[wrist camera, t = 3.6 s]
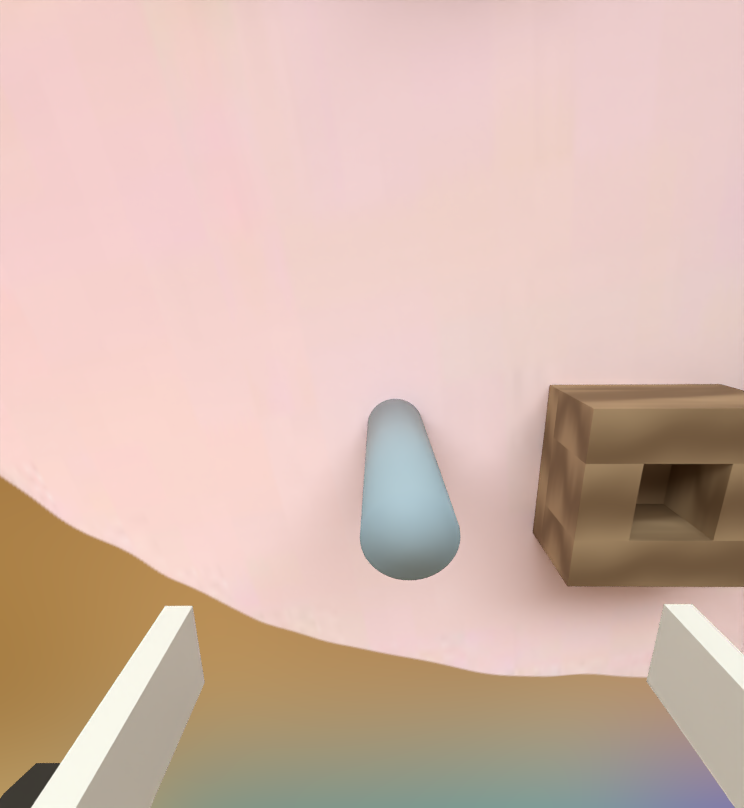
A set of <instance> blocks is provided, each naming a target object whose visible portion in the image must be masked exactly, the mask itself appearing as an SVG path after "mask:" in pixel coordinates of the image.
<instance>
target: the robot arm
mask: <svg viewBox="0 0 744 808" xmlns="http://www.w3.org/2000/svg"><path fill="white" fill-rule="evenodd" d="M647 683H648V684H649V685H650V687H651V688H652V690H653V691H654V693H655V694H656V695H657V697H658V698H659V700H660V701H661V703H662V704H663V705H664V707H665V708H666V710H667V711H668V713H669V714H670V715H671V717H672V718H673V720H674V721H675V723H676V724H677V725H678V727H679V728H680V730H681V731H682V733H683V734H684V735H685V737H686V738H687V740H688V741H689V743H690V744H691V745H692V747H693V748H694V750H695V751H696V753H697V754H698V755H699V757H700V758H701V760H702V761H703V763H704V764H705V765H706V767H707V768H708V770H709V771H710V773H711V774H712V775H713V777H714V778H715V780H716V781H717V782H718V784H719V785H720V787H721V788H722V790H723V791H724V793H725V794H726V795H727V797H728V798H729V800H730V801H731V803H732V804H733V805H734V807H735V808H744V655H743V654H742V653H741V652H740V651H739V650H738V649H737V648H736V647H735V646H734V645H733V644H732V643H731V642H730V641H729V640H728V639H727V638H726V637H725V636H724V635H723V634H722V633H721V632H720V631H719V630H718V629H717V628H716V627H715V626H714V625H713V624H712V623H711V622H710V621H709V620H708V619H707V618H706V617H704V616H703V615H702V614H701V613H700V612H699V611H698V610H697V609H696V608H695V607H694V606H693V605H692V604H664V606H663V611H662V615H661V620H660V624H659V629H658V633H657V637H656V642H655V646H654V651H653V655H652V660H651V664H650V668H649V673H648V677H647ZM203 685H204V676H203V670H202V663H201V657H200V651H199V644H198V638H197V632H196V625H195V619H194V613H193V606H165V607H164V609H163V610H162V612H161V614H160V615H159V616H158V618H157V619H156V621H155V622H154V624H153V625H152V627H151V629H150V630H149V631H148V633H147V634H146V636H145V637H144V639H143V640H142V642H141V643H140V645H139V646H138V648H137V649H136V651H135V652H134V654H133V655H132V657H131V658H130V660H129V661H128V663H127V664H126V666H125V668H124V669H123V670H122V672H121V673H120V675H119V676H118V678H117V679H116V681H115V682H114V684H113V685H112V687H111V689H110V690H109V691H108V693H107V695H106V696H105V698H104V699H103V700H102V702H101V703H100V705H99V706H98V708H97V709H96V711H95V712H94V714H93V715H92V717H91V719H90V720H89V721H88V723H87V724H86V726H85V727H84V729H83V731H82V732H81V734H80V735H79V736H78V738H77V740H76V741H75V743H74V744H73V746H72V747H71V749H70V750H69V752H68V753H67V755H66V756H65V758H64V759H63V761H62V762H61V763H36V764H35V765H34V766H33V767H32V768H31V769H30V770H29V771H28V772H26V773H25V774H24V775H23V776H22V777H21V778H20V779H19V780H18V781H17V782H16V783H15V784H14V785H13V786H12V787H10V788H9V789H8V790H7V791H6V792H5V793H4V794H3V795H2V797H1V798H0V808H150V807H151V804H152V802H153V800H154V798H155V795H156V793H157V791H158V788H159V786H160V784H161V781H162V779H163V777H164V774H165V772H166V770H167V768H168V765H169V763H170V761H171V758H172V756H173V754H174V751H175V749H176V747H177V745H178V742H179V740H180V738H181V735H182V733H183V731H184V728H185V726H186V724H187V722H188V719H189V717H190V715H191V712H192V710H193V708H194V705H195V703H196V701H197V698H198V696H199V694H200V692H201V689H202V687H203Z"/></svg>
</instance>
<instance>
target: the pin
mask: <svg viewBox="0 0 744 808" xmlns="http://www.w3.org/2000/svg"><path fill="white" fill-rule="evenodd" d="M360 543H361V548H362V551H363V553H364V555H365V557H366V559H367V560H368V561H369V563H370V564H371V565H372V566H373V567H374V568H375V569H377V570H378V571H379V572H381V573H383V574H385V575H387V576H389V577H392V578H395V579H400V580H418V579H423V578H427V577H430V576H432V575H434V574H436V573H438V572H440V571H441V570H442V569H444V568H445V567H446V566H447V565H448V564H449V563H450V562H451V561H452V559H453V558H454V556H455V555H456V552H457V550H458V547H459V544H460V528H459V525H458V521H457V519H456V516H455V513H454V510H453V507H452V504H451V501H450V499H449V496H448V493H447V490H446V487H445V484H444V481H443V479H442V476H441V473H440V470H439V467H438V464H437V461H436V459H435V456H434V453H433V450H432V447H431V444H430V441H429V439H428V436H427V433H426V430H425V427H424V424H423V421H422V419H421V416H420V414H419V412H418V410H417V409H416V408H415V407H414V406H413V405H412V404H410V403H409V402H407V401H404V400H400V399H390V400H386V401H384V402H382V403H380V404H378V405H377V406H376V407H375V408H374V409H373V411H372V412H371V414H370V416H369V419H368V429H367V443H366V458H365V472H364V487H363V501H362V516H361V530H360Z"/></svg>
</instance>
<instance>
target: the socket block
mask: <svg viewBox="0 0 744 808" xmlns="http://www.w3.org/2000/svg"><path fill="white" fill-rule="evenodd" d="M533 534H534V535H535V537H536V538H537V540H538V541H539V543H540V545H541V546H542V548H543V549H544V551H545V552H546V554H547V555H548V557H549V559H550V560H551V562H552V563H553V565H554V566H555V568H556V569H557V571H558V572H559V574H560V576H561V577H562V579H563V580H564V582H565V583H566V585H567V586H642V587H744V391H743V390H740V389H736V388H732V387H729V386H725V385H721V384H677V385H550V389H549V398H548V406H547V415H546V423H545V432H544V440H543V449H542V458H541V466H540V475H539V483H538V492H537V501H536V509H535V518H534V526H533Z"/></svg>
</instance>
